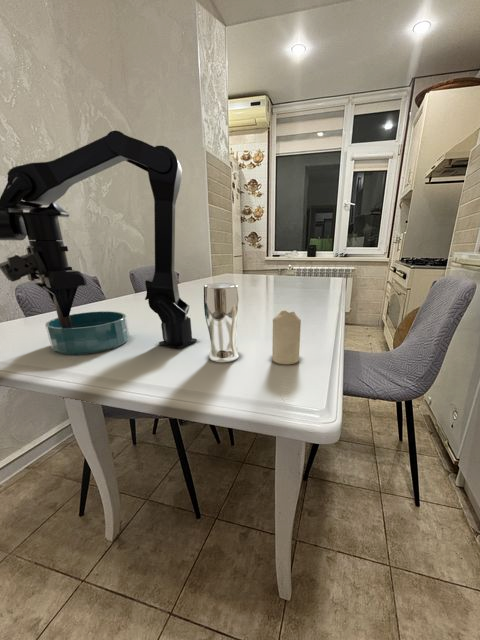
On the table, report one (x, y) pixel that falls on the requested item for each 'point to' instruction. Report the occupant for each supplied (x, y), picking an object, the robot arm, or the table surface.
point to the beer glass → (222, 320)
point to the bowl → (88, 332)
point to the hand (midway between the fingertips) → (64, 315)
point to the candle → (286, 338)
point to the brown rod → (63, 318)
